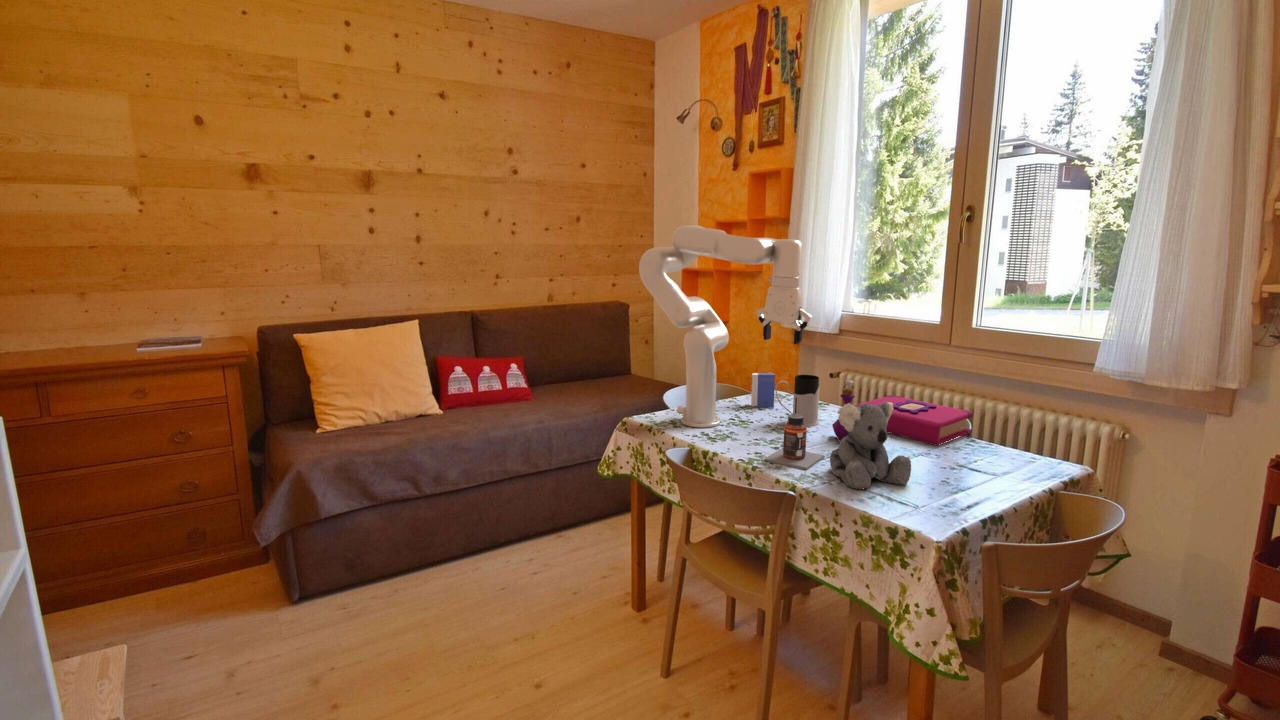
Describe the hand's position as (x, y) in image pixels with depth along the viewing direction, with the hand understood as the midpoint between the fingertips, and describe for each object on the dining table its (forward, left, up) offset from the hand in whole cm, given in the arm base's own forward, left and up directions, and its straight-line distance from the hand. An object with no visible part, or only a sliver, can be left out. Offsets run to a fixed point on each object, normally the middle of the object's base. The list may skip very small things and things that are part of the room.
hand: (781, 341), depth 195 cm
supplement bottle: (+12, -16, -28) cm, 35 cm away
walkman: (-20, +29, -29) cm, 45 cm away
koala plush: (+31, -18, -29) cm, 47 cm away
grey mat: (+12, -16, -29) cm, 35 cm away
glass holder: (-2, +17, -29) cm, 34 cm away
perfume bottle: (+17, +9, -29) cm, 35 cm away
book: (+30, +31, -30) cm, 53 cm away
